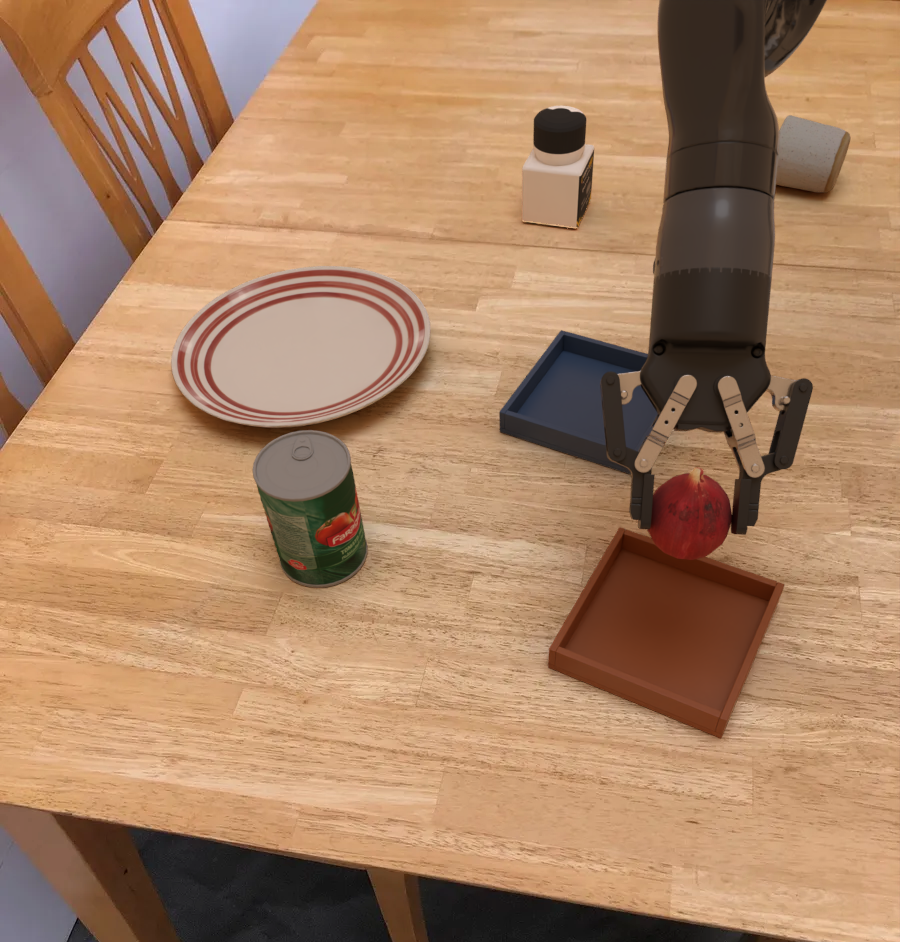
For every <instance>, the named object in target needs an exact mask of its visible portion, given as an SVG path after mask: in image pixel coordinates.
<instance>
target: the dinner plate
mask: <svg viewBox="0 0 900 942" xmlns="http://www.w3.org/2000/svg"><path fill="white" fill-rule="evenodd" d="M431 331H432V327H431V320H430V316H429V312H428V310H427V308H426V307H425V304H424V303H423V302H422V300H421V299H420V298H419V297H418V295H416V293H415V292H414V291H412V290H411V289H410V288H409V287H408V286H406V285H405V284H403V283H401V282H400V281H398V280H396V279H394V278H393V277H389V276H387V275H385V274H382V273H379V272H376V271H373V270H368V269H365V268H360V267H359V268H358V267H353V266H352V267H351V266H344V265H343V266H342V265H316V266H315V265H313V266H304V267H296V268H290V269H285V270H280V271H275V272H272V273H269V274H265V275H261V276H258V277H255V278H253V279H250V280H248V281H245V282H242V283H241V284H238V285H237V286H234V287H232V288H230V289H228V290H226V291H224V292H222V293H221V294H219V295H217V296H216V297H214V298H213V299H212V300H211V301H209V302H208V303H207V304H205V305H204V306H203V307H202V308H200V309H199V310H198V311H197V312H196V313H195V314H193V316H192V317H191V318H190V319H189V320H188V321H187V323H186V324H185V325H184V327H183V328H182V330H181V331H180V333H179V334H178V336H177V337H176V340H175V343H174V345H173V349H172V353H171V356H170V357H171V358H170V369H171V374H172V378H173V381H174V383H175V385H176V386H177V388H178V390H179V391H180V393H181V394H182V395H183V396H184V398H185V399H186V400H187V401H189V402H190V403H191V404H192V405H193V406H194V407H196V408H198V409H199V410H201V411H202V412H204V413H206V414H208V415H211V416H212V417H215V418H218V419H220V420H223V421H226V422H230V423H234V424H239V425H244V426H249V427H259V428H272V429H273V428H276V429H278V428H280V429H281V428H295V427H304V426H310V425H316V424H321V423H325V422H328V421H332V420H336V419H339V418H342V417H345V416H348V415H350V414H353V413H356V412H357V411H360V410H362V409H365V408H367V407H368V406H370V405H373V404H375V403H376V402H378V401H380V400H381V399H383V398H384V397H386V396H387V395H389V394H391V393H392V392H394V391H395V390H396V389H398V387H400V386H401V385H402V384H403V383H404V382H405V381H406V380H408V379H409V377H411V375H412V374H413V373H414V372H415V371H416V369H417V368H418V367H419V365H420V364H421V363H422V361H423V359H424V357H425V355H426V353H427V351H428V348H429V345H430V341H431V333H432V332H431Z"/></svg>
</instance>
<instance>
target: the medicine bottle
mask: <svg viewBox="0 0 900 942" xmlns="http://www.w3.org/2000/svg"><path fill="white" fill-rule="evenodd" d="M586 133H587V116H586V115H585V114H584V112H583V111H582V110H581V109H579V108H577V107H573V106H570V105H552V106H549V107H546V108H543V109H542V110H540V111H539V112H537V114H536V115H535V116H534V118H533V136H532V137H533V139H532V140H533V142H532V143H533V145H532V149H531V151H530V153H529V155H528V156H527V158H526V160H525V162H524V163H523V165H522V168H521V221H522V220H524V221H533V222H541V223H546V224H547V223H548V224H556V225H558V224H559V225H564V226H569V227H571V226H572V227H578V226H579V227H580V225H579V224H581V223H580V221H581V222H582V220H583V218H584V216H585V214H584V213H586V212H587V209H588V207H589V205H590V203H591V201H590V199H591V200H592V189H593V175H594V174H593V173H594V162H595V161H594V159H595V145H593V144H588V143H587V144H586V137H587V136H586V135H587V134H586ZM589 202H590V203H589ZM588 204H589V205H588ZM586 208H587V209H586ZM585 211H586V212H585ZM583 215H584V216H583ZM582 217H583V218H582ZM581 219H582V220H581ZM579 227H578V228H579Z"/></svg>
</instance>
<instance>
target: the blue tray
mask: <svg viewBox="0 0 900 942" xmlns="http://www.w3.org/2000/svg"><path fill="white" fill-rule="evenodd" d="M647 357H648V353H646V352H642V351H639V350H635V349H631V348H628V347H624V346H620V345H617V344H614V343H610V342H606V341H602V340H599V339H595V338H591V337H589V336H585V335H581V334H577V333H574V332H569V331H566V330H562V329H561V330H560V331H559V332H558V333H557V334H556V336H555V337H554V339H553V340H552V341H551V343H550V344H549V345H548V346H547V348H546V349H545V351H544V352H543V353H542V354H541V356H540V357H539V359H538V360H537V361H536V363H535V364H534V365H533V366H532V368H531V370H529V372H528V373H527V375H525V377H524V378H523V379H522V381H521V382H520V384H519V385H518V387H517V388H516V389H515V390H514V392H513V393H512V394H511V396H510V397H509V398H508V400H507V401H506V402H505V403H504V404H503V407H502V408H501V409H500V410H499V412H498V413H499V418H498V419H499V420H498V421H499V433H502V434H504V435H508V436H511V437H513V438H517V439H520V440H522V441H526V442H529V443H532V444H535V445H539V446H542V447H545V448H547V449H551V450H554V451H557V452H560V453H562V454H563V453H564V454H566V455H569V456H572V457H575V458H578V459H581V460H585V461H588V462H590V463H594V464H598V465H600V466H603V467H606V468H609V469H612V470H614V471H615V470H616V471H619V472H621V473H624V474H628V475H631V472H630V471H629V469H628V468H626V467H624V466H622V465H620V464H617V463H615V462H612V461H610V460H609V459H608V457H607V453H606V442H605V432H604V422H603V411H602V401H601V391H600V382H601V379H602V377H603V375H604V374H605V373H606V372H610V371H612V372H615V373H617V374H621V373H628V372H636V371H640V370H641V368H642V367H643V365H644V364H645V362H646V360H647ZM622 410H623V420H624V431H625V441H626V447H628V448H631V449H633V450H635V451H638V450H639V448H640V446H641V445H642V443H643V441H644V439H645V437H646V434H647V433H648V431H649V429H650V427H651V425H652V423H653V421H654V419H655V418H656V416H657V414H658V413H657V411H656V410H655V408H654V407H653V405H652V403H651V402H650V400H649V399H648V397H647V396H646V394H645V392H644V391H643V389H642V388H641V386H638V387H636V388H635V389H634V390H633V394H632V399H631V401H630V402H629V403H628V404H626V405H623V406H622Z"/></svg>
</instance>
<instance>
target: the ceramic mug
mask: <svg viewBox="0 0 900 942" xmlns="http://www.w3.org/2000/svg"><path fill="white" fill-rule="evenodd" d="M850 143H851V134H850V133H849V131H847V130H845V129H843V128H840V127H838V126H834V125H829V124H825V123H821V122H817V121H814V120H810V119H807V118H802V117H799V116H796V115H791V114H790V115H787V116H786V117H785V119H784V120H783V122H782V124H781V126H780V127H779V155H778V166H777V177H776V186H781V187H786V188H791V189H798V190H802V191H808V192H813V193H828V192H830V191H831V190H833V188H835V187H834V186H835V185H836V183H837V179H838V178H839V175H840V173H841V170H842V167H843V165H844V162H845V159H846V156H847V154H848V150H849V147H850Z"/></svg>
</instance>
